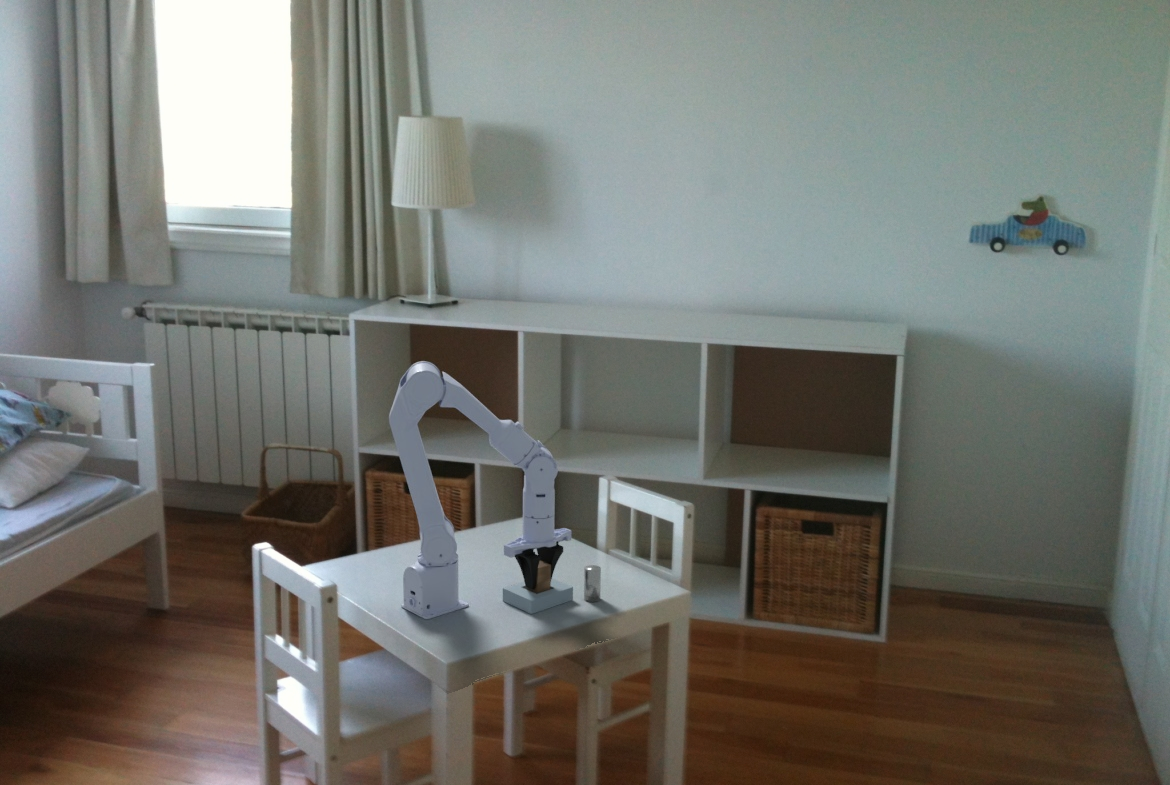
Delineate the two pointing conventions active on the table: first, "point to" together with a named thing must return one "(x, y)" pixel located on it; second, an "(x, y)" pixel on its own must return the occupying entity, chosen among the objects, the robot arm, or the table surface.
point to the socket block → (537, 596)
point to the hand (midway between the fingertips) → (537, 585)
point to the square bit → (542, 578)
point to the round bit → (592, 583)
